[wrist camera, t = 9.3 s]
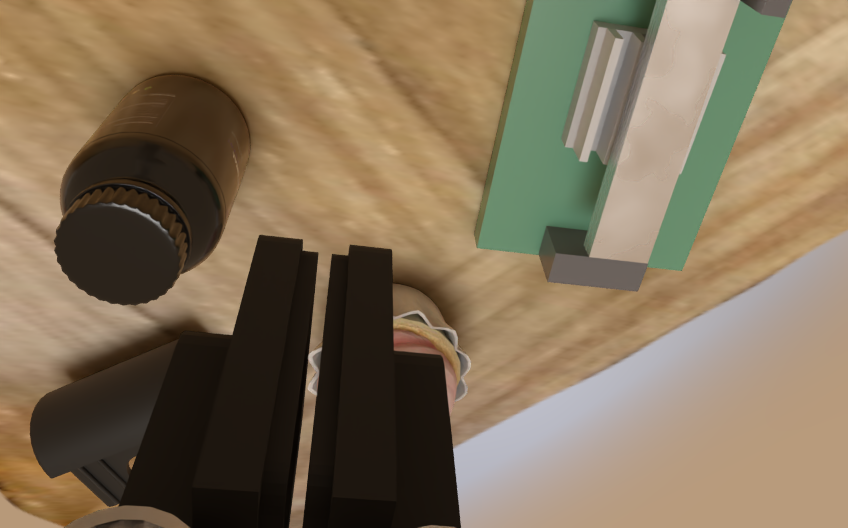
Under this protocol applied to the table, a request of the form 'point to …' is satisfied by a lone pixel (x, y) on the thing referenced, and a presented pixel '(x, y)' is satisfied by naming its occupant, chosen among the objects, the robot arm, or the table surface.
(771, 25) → the board
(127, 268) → the supplement bottle
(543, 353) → the table surface
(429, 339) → the cupcake
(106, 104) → the table surface
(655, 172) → the grey long bar
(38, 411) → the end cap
